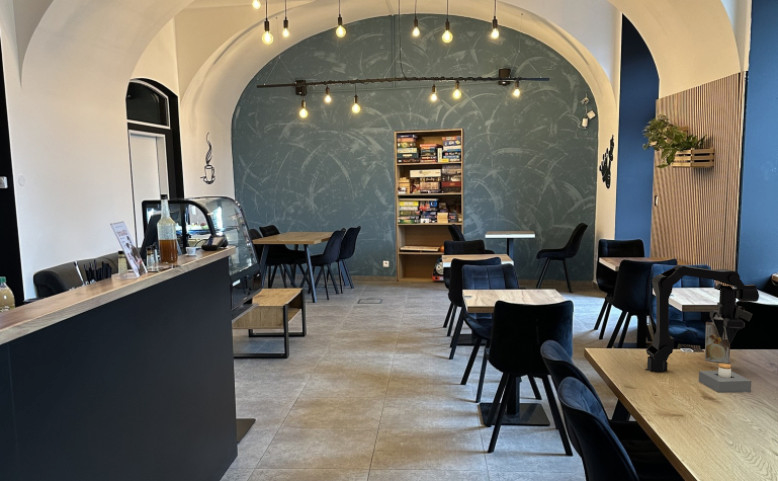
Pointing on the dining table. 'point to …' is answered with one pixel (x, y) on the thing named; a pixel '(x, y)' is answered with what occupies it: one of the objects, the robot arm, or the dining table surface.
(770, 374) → the dining table surface
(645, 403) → the dining table surface
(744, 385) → the header
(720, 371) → the plug
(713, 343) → the coffee box
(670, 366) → the dining table surface
